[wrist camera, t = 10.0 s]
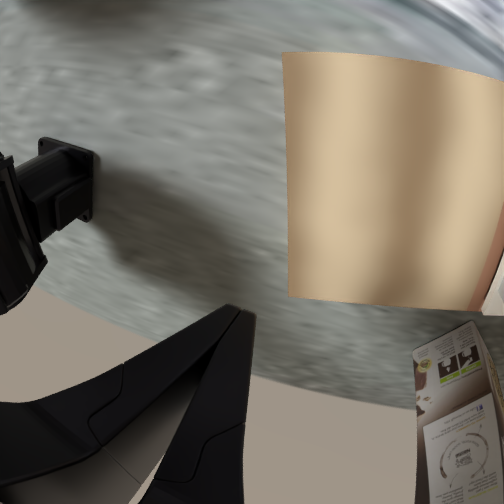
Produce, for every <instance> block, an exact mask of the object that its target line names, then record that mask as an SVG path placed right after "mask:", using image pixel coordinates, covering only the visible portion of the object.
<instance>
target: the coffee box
mask: <svg viewBox="0 0 504 504" xmlns="http://www.w3.org/2000/svg"><path fill="white" fill-rule="evenodd" d="M413 364H414V376H415V389H416V408H417V473H416V491H415V504H504V400H503V396H502V392H501V388H500V384H499V379H498V375H497V372H496V368H495V365H494V362H493V360H492V358H491V356H490V354H489V352H488V349H487V347H486V345H485V343H484V341H483V339H482V337H481V335H480V333H479V331H478V329H477V327H476V325H475V323H474V321H470V322H468V323H466V324H464V325H462V326H460V327H459V328H457V329H455V330H453V331H451V332H449V333H447V334H445V335H443V336H441V337H439V338H437V339H435V340H433V341H431V342H429V343H427V344H425V345H423V346H421V347H419V348H417V349H415V350H414V351H413Z"/></svg>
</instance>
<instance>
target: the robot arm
mask: <svg viewBox="0 0 504 504" xmlns="http://www.w3.org/2000/svg"><path fill="white" fill-rule="evenodd" d="M86 156H87V158H86ZM13 163H14V160H13V156H12V155H11V156H7V157H4V155H2V153H1V152H0V315H3V314H5V313H7V312H8V311H9V310H11V309H12V308H14V307H15V306H17V305H18V304H19V303H20V302H21V301H22V300H23V299H24V298H25V296H26V295H27V293H28V292H29V290H30V289H31V287H32V285H33V284H34V282H35V281H36V279H37V278H38V276H39V275H40V273H41V272H42V270H43V269H44V267H45V266H46V264H47V263H48V260H47V258H46V256H45V255H44V254H43V251H42V249H41V246H40V244H39V242H40V243H41V242H43V241H44V240H45V239H46V238H48V237H49V236H50V235H51V234H52V233H54V232H55V231H56V230H57V231H60V230H62V229H63V228H64V227H66V226H67V225H68V224H69V223H71V222H72V221H73V220H75V219H76V218H77V219H79V220H82V221H84V222H86V223H87V222H89V221H90V220H91V219H92V167H93V155H92V153H91V152H90V151H88V150H85V149H82V148H79V147H76V146H73V145H69V144H66V143H63V142H60V141H56V140H53V139H50V138H47V137H42V138H40V139H39V141H38V156H37V157H35V158H33V159H31V160H29V161H27V162H25V163H23V164H21V165H20V166H18V167H16V168H14V165H13ZM255 327H256V314H255V313H253V312H251V311H248V310H245V309H243V310H242V309H241V308H240V307H238V306H235V305H233V304H226V305H224V306H222V307H220V308H219V309H217V310H215V311H214V312H212V313H210V314H208V315H207V316H205V317H203V318H202V319H200V320H198V321H196V322H195V323H193V324H191V325H189V326H188V327H186V328H184V329H182V330H181V331H179V332H177V333H175V334H174V335H172V336H170V337H168V338H167V339H165V340H163V341H161V342H160V343H158V344H156V345H154V346H152V347H151V348H149V349H147V350H145V351H144V352H142V353H140V354H138V355H136V356H135V357H133V358H131V359H129V360H128V361H125V362H124V364H120V365H118V366H116V367H114V368H112V369H111V370H109V371H107V372H105V373H103V374H101V375H99V376H97V377H95V378H92V379H90V380H88V381H86V382H83V383H81V384H78V385H76V386H73V387H71V388H68V389H66V390H63V391H60V392H58V393H55V394H52V395H50V396H47V397H44V398H42V399H38V400H35V401H30V402H22V403H12V402H0V504H128V503H129V501H130V500H131V499H132V498H133V496H134V495H135V494H136V492H137V491H138V490H139V488H140V487H141V484H143V483H144V481H145V480H146V478H147V477H148V476H149V474H150V473H151V471H152V470H153V469H154V467H155V466H156V464H157V463H158V462H159V460H160V459H161V458H162V456H163V455H164V453H165V452H166V453H165V455H164V457H163V459H162V461H161V463H160V465H159V468H158V470H157V472H156V474H155V475H154V479H153V480H152V482H151V484H150V486H149V488H148V489H147V491H146V493H145V494H144V496H143V497H142V499H141V500H140V502H139V503H138V504H244V488H243V447H244V434H245V422H246V413H247V405H248V396H249V386H250V376H251V367H252V357H253V347H254V337H255Z"/></svg>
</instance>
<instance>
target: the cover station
mask: <svg viewBox="0 0 504 504" xmlns="http://www.w3.org/2000/svg"><path fill="white" fill-rule="evenodd" d="M282 63H283V81H284V102H285V126H286V155H287V196H288V297H298V298H307V299H317V300H327V301H337V302H348V303H359V304H371V305H383V306H396V307H410V308H425V309H441V310H459V311H479V312H482V310H481V308H482V306H483V304H484V301H485V299H486V297H487V295H488V292H489V290H490V287H491V285H492V283H493V280H494V278H495V275H496V273H497V270H498V267H499V265H500V262H501V259H502V257H503V254H504V82H503V81H500V80H496V79H493V78H490V77H486V76H483V75H479V74H475V73H472V72H468V71H464V70H459V69H455V68H451V67H446V66H441V65H436V64H431V63H426V62H420V61H414V60H407V59H400V58H393V57H384V56H375V55H364V54H351V53H331V52H282Z"/></svg>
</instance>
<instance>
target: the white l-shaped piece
mask: <svg viewBox="0 0 504 504" xmlns="http://www.w3.org/2000/svg"><path fill="white" fill-rule="evenodd" d="M481 310H482V312H483V315H493V316H504V254H503V257H502V259H501V262H500V265H499V267H498V270H497V273H496V275H495V278H494V280H493V283H492V285H491V287H490V290H489V292H488V295H487V297H486V299H485V301H484V304H483V306H482V308H481Z"/></svg>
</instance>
